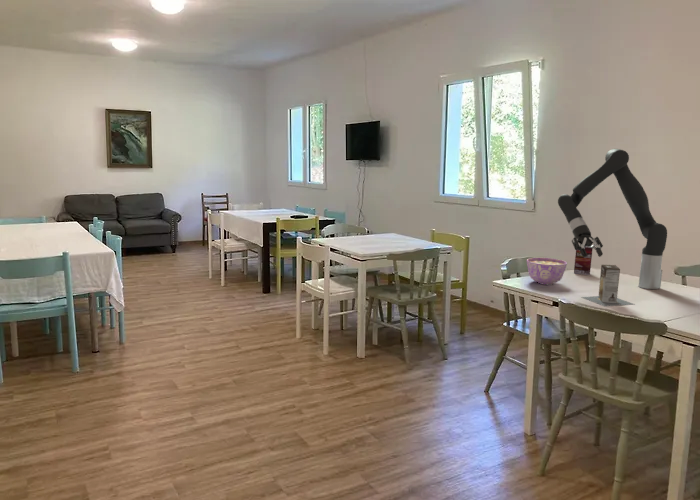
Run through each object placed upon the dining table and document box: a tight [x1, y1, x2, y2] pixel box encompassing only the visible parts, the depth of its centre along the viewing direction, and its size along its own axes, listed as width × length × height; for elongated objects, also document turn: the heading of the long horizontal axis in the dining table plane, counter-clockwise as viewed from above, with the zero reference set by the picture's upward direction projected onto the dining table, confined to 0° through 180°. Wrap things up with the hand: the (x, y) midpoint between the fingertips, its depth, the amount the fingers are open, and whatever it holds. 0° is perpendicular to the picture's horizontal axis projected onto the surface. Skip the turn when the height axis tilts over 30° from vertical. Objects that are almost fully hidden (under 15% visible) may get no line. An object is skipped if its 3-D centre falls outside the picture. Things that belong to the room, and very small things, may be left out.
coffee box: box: [597, 264, 621, 303], centre depth 256 cm, size 9×6×16 cm
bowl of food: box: [526, 257, 568, 285], centre depth 290 cm, size 20×20×12 cm
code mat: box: [581, 295, 634, 307], centre depth 257 cm, size 16×16×1 cm
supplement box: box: [573, 244, 594, 276], centre depth 314 cm, size 9×5×16 cm, turn 68°
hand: (593, 256), depth 265 cm, fingers open, 8 cm apart
